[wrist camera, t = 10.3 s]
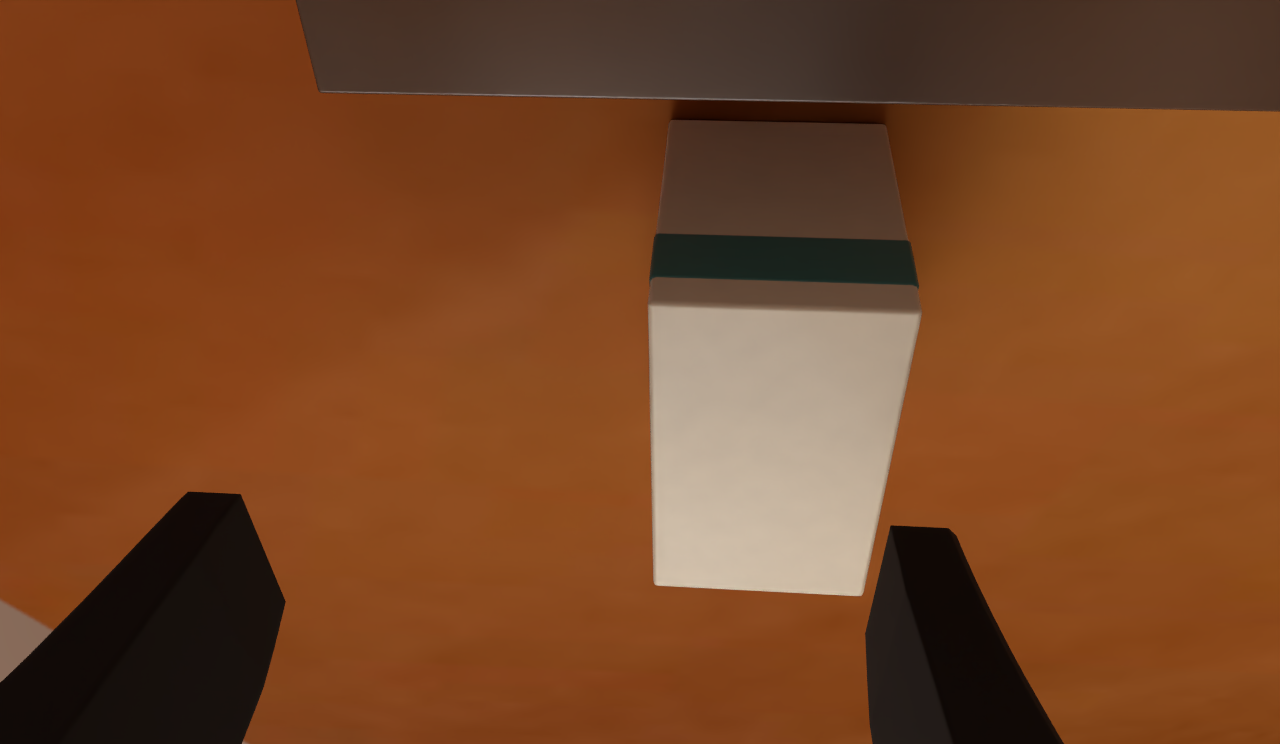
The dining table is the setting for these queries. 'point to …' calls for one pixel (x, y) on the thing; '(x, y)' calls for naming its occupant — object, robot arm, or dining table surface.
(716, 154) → the tea box
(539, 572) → the dining table surface
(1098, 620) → the dining table surface
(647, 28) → the walnut shelf
